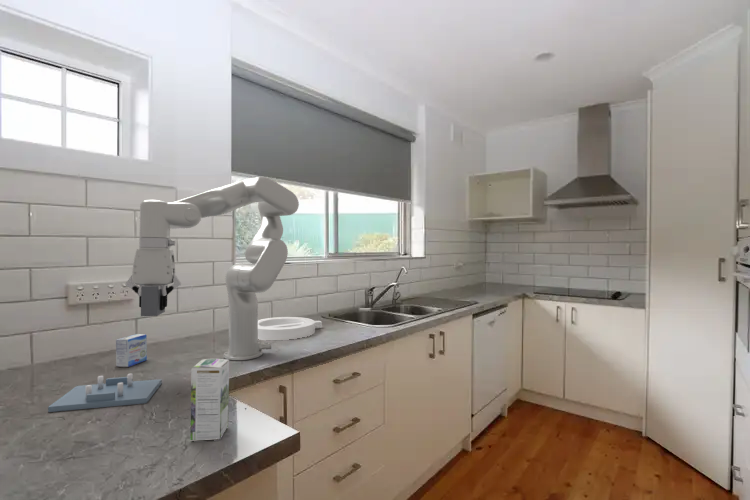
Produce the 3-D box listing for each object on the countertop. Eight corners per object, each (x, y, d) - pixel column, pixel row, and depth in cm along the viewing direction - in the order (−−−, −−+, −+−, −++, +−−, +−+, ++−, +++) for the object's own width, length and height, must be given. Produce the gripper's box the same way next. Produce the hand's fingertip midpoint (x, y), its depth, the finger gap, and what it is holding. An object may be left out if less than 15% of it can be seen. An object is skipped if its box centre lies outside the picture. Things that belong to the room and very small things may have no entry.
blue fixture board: (161, 383, 109) (161, 368, 109) (146, 403, 95) (146, 385, 95) (76, 390, 104) (76, 374, 104) (48, 412, 90) (48, 393, 90)
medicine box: (127, 367, 123) (127, 339, 123) (115, 366, 124) (115, 339, 124) (147, 360, 131) (147, 334, 131) (135, 359, 132) (135, 333, 132)
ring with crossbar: (324, 328, 182) (324, 318, 182) (298, 343, 155) (298, 331, 155) (268, 325, 189) (268, 315, 188) (234, 339, 161) (234, 327, 161)
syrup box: (200, 428, 82) (200, 358, 82) (229, 427, 83) (229, 358, 82) (189, 442, 76) (189, 367, 76) (221, 441, 77) (221, 366, 77)
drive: (165, 311, 116) (165, 283, 116) (157, 315, 108) (157, 286, 108) (149, 312, 115) (150, 283, 115) (140, 316, 107) (141, 286, 107)
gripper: (189, 245, 118) (188, 307, 117) (126, 244, 113) (124, 308, 113) (184, 244, 110) (182, 311, 110) (116, 243, 106) (114, 312, 106)
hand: (153, 309), depth 112 cm, fingers closed on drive, 4 cm apart
